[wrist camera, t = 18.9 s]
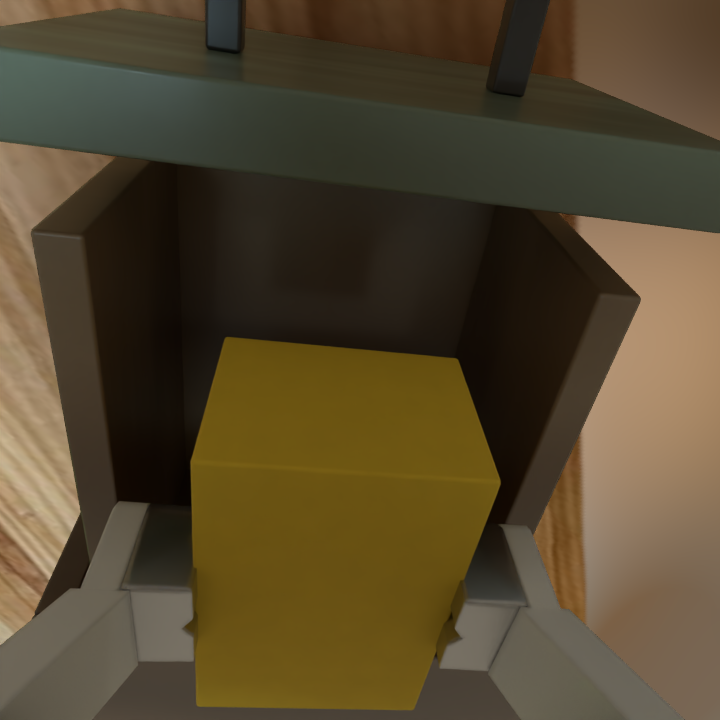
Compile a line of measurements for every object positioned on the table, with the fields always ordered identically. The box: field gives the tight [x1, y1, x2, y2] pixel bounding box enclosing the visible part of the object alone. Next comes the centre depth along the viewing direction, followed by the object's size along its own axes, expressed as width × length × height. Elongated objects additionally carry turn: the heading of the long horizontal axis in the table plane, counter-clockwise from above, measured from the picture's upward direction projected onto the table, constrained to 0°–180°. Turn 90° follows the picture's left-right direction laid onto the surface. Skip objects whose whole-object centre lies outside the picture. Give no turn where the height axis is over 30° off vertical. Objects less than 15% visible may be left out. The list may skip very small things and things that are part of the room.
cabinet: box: [32, 513, 521, 720], centre depth 22 cm, size 16×13×10 cm
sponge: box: [191, 337, 501, 710], centre depth 10 cm, size 6×4×3 cm, turn 172°
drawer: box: [0, 0, 720, 563], centre depth 13 cm, size 20×11×8 cm, turn 172°
